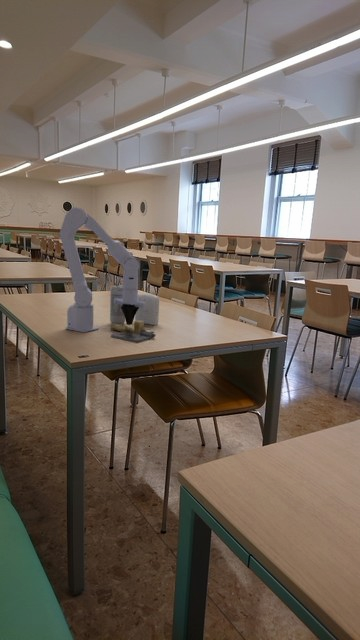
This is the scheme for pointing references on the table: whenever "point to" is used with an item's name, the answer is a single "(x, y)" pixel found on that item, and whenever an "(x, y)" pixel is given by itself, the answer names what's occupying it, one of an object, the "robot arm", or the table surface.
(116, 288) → the energy drink can
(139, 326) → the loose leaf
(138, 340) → the pin leaf
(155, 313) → the photo printer
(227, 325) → the table surface
